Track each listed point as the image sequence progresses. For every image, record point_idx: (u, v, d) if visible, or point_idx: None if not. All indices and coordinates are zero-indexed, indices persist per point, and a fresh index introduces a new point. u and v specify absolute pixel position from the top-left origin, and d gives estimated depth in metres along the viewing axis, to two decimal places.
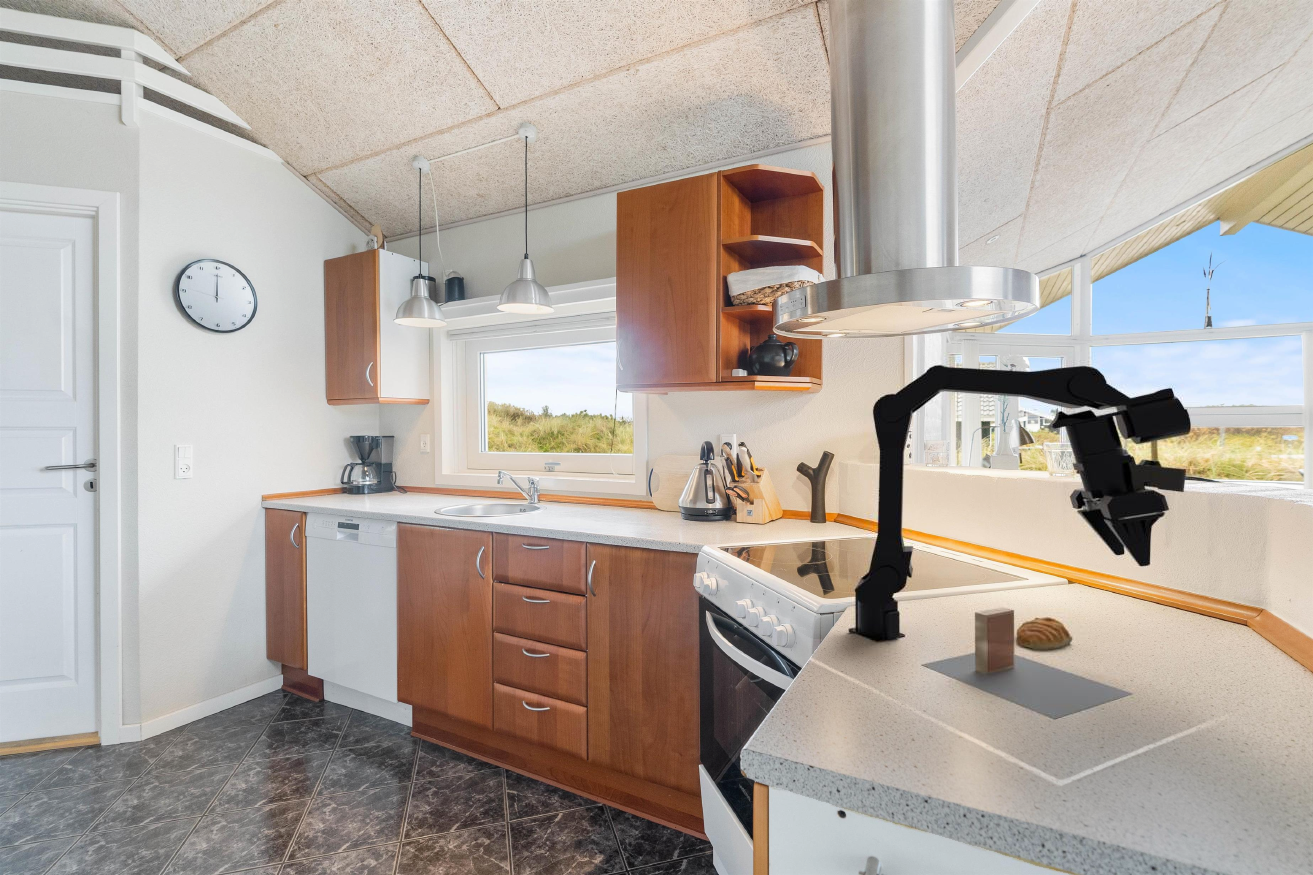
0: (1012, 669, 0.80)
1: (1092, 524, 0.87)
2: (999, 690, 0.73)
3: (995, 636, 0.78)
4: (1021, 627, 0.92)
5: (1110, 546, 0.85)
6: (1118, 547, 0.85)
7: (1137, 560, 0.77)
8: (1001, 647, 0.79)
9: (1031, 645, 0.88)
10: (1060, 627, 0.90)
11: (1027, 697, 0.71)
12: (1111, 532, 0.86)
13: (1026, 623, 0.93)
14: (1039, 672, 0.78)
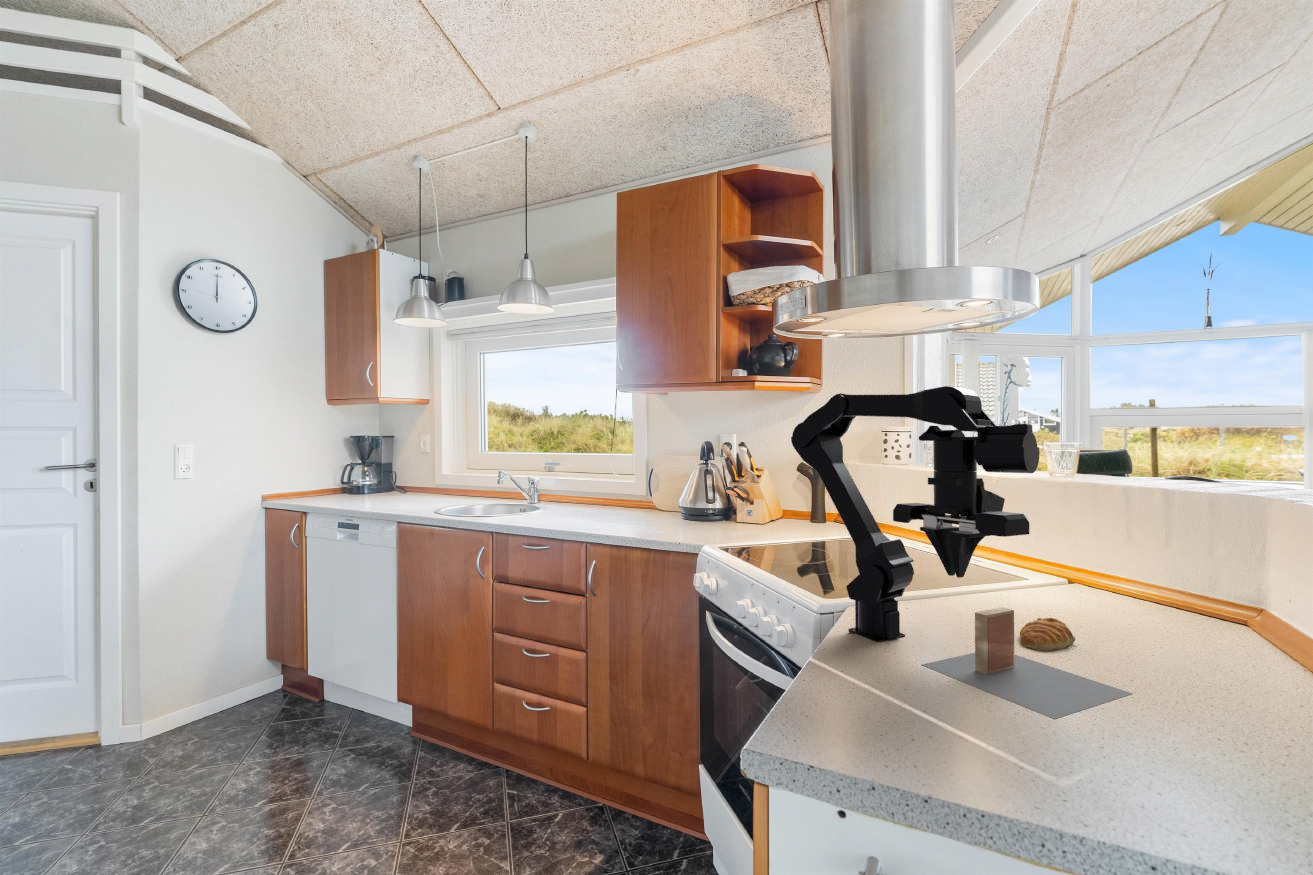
0: (1012, 669, 0.80)
1: (939, 543, 0.85)
2: (999, 690, 0.73)
3: (995, 636, 0.78)
4: (1024, 628, 0.92)
5: (948, 566, 0.85)
6: (953, 568, 0.86)
7: (959, 572, 0.84)
8: (1001, 647, 0.79)
9: (1035, 646, 0.88)
10: (1063, 627, 0.90)
11: (1027, 697, 0.71)
12: (950, 552, 0.86)
13: (1029, 624, 0.92)
14: (1039, 672, 0.78)
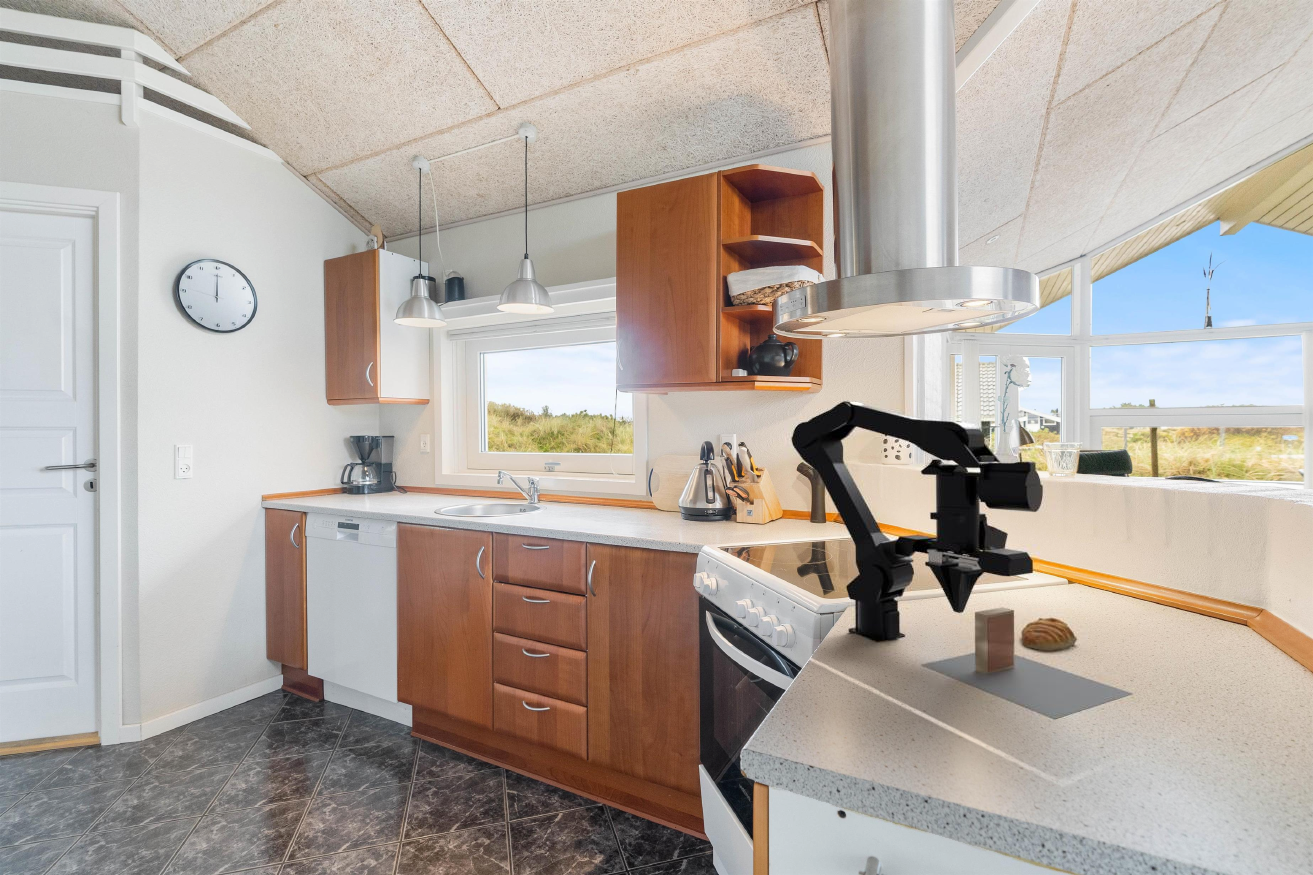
0: (1012, 669, 0.80)
1: (945, 579, 0.84)
2: (999, 690, 0.73)
3: (995, 636, 0.78)
4: (1026, 628, 0.92)
5: (954, 602, 0.85)
6: None
7: (959, 607, 0.84)
8: (1001, 647, 0.79)
9: (1038, 646, 0.87)
10: (1065, 627, 0.90)
11: (1027, 697, 0.71)
12: None
13: (1031, 624, 0.92)
14: (1039, 672, 0.78)
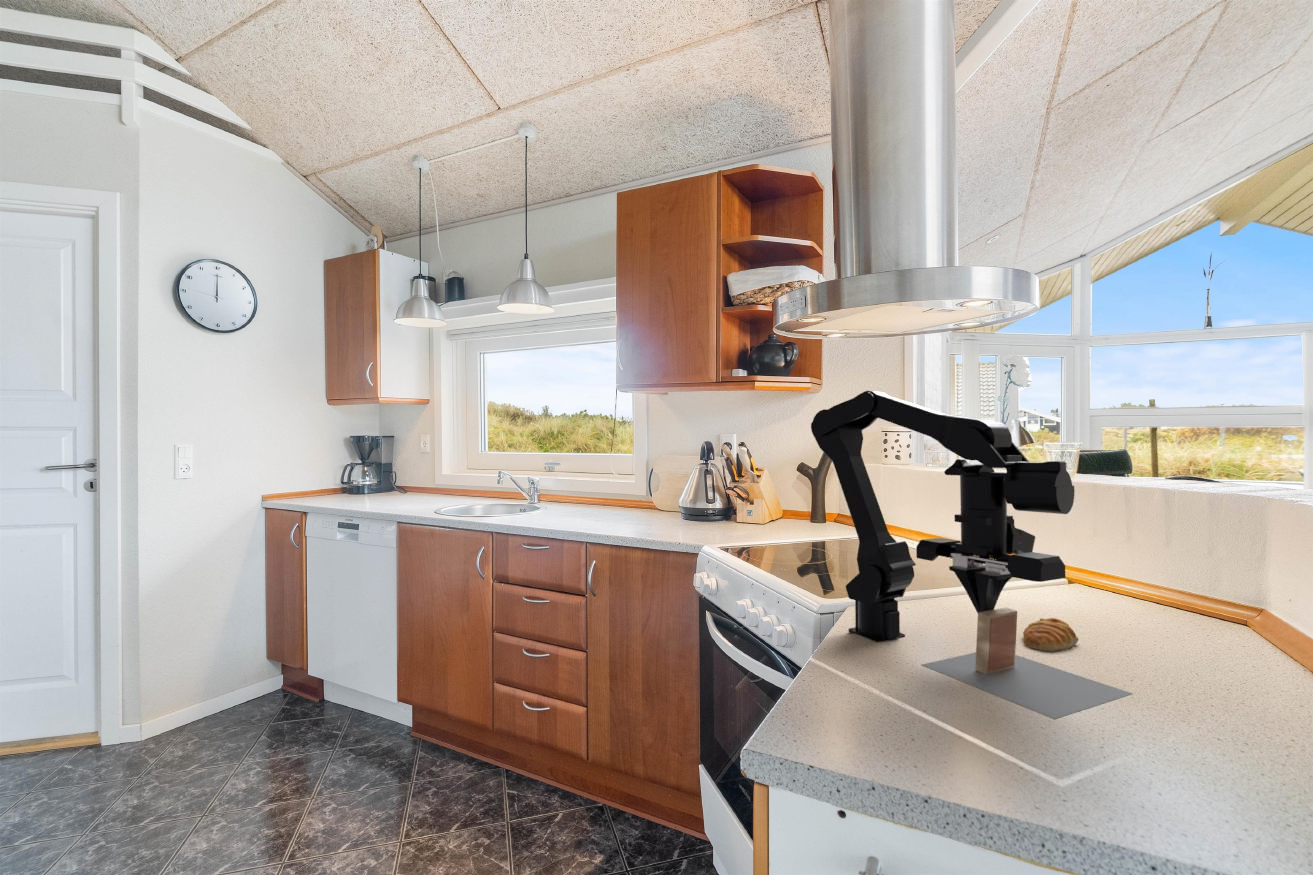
0: (1012, 669, 0.80)
1: (971, 584, 0.81)
2: (999, 690, 0.73)
3: (997, 637, 0.78)
4: (1028, 628, 0.92)
5: (980, 609, 0.81)
6: None
7: None
8: (1003, 648, 0.79)
9: (1040, 647, 0.87)
10: (1067, 628, 0.90)
11: (1027, 697, 0.71)
12: None
13: (1032, 624, 0.92)
14: (1039, 672, 0.78)
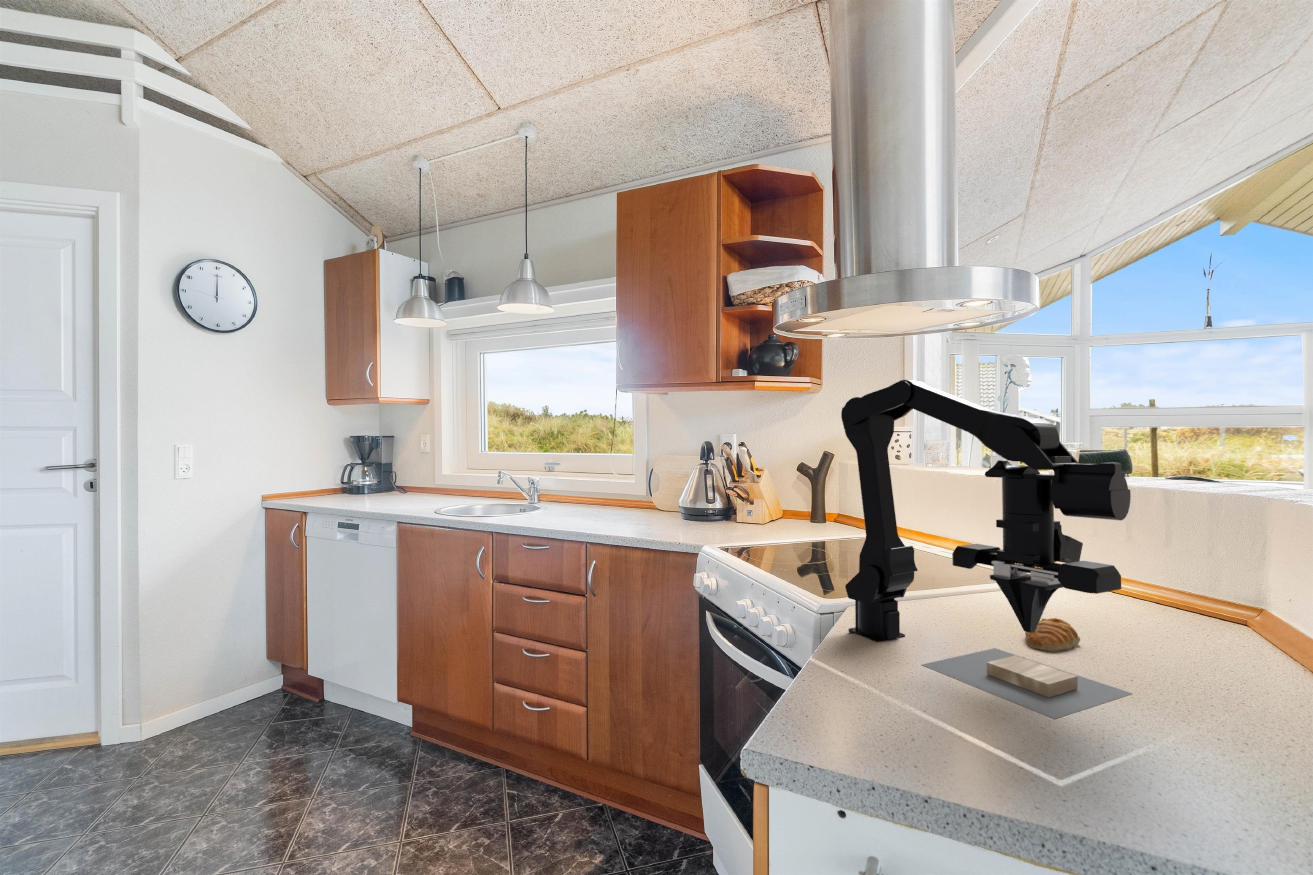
0: None
1: (1014, 594, 0.75)
2: (999, 690, 0.73)
3: None
4: None
5: (1024, 621, 0.75)
6: None
7: (1030, 626, 0.75)
8: None
9: (1043, 647, 0.87)
10: (1069, 628, 0.90)
11: (1027, 697, 0.71)
12: None
13: None
14: None
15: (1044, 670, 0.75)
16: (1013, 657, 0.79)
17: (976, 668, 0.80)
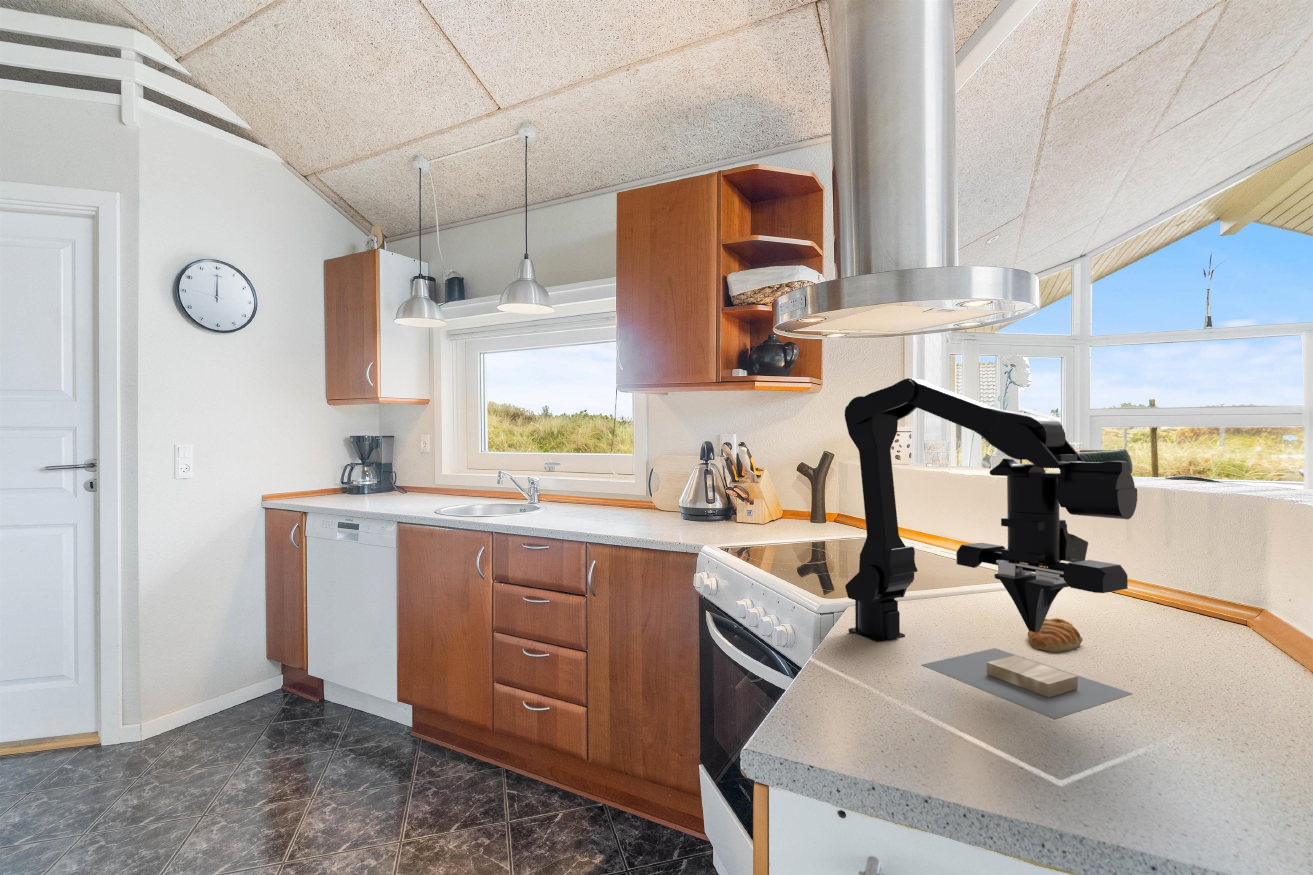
0: None
1: (1019, 594, 0.75)
2: (999, 690, 0.73)
3: None
4: None
5: (1029, 621, 0.75)
6: None
7: (1035, 626, 0.74)
8: None
9: (1046, 648, 0.87)
10: (1071, 628, 0.90)
11: (1027, 697, 0.71)
12: None
13: None
14: None
15: (1044, 670, 0.75)
16: (1013, 657, 0.79)
17: (976, 668, 0.80)
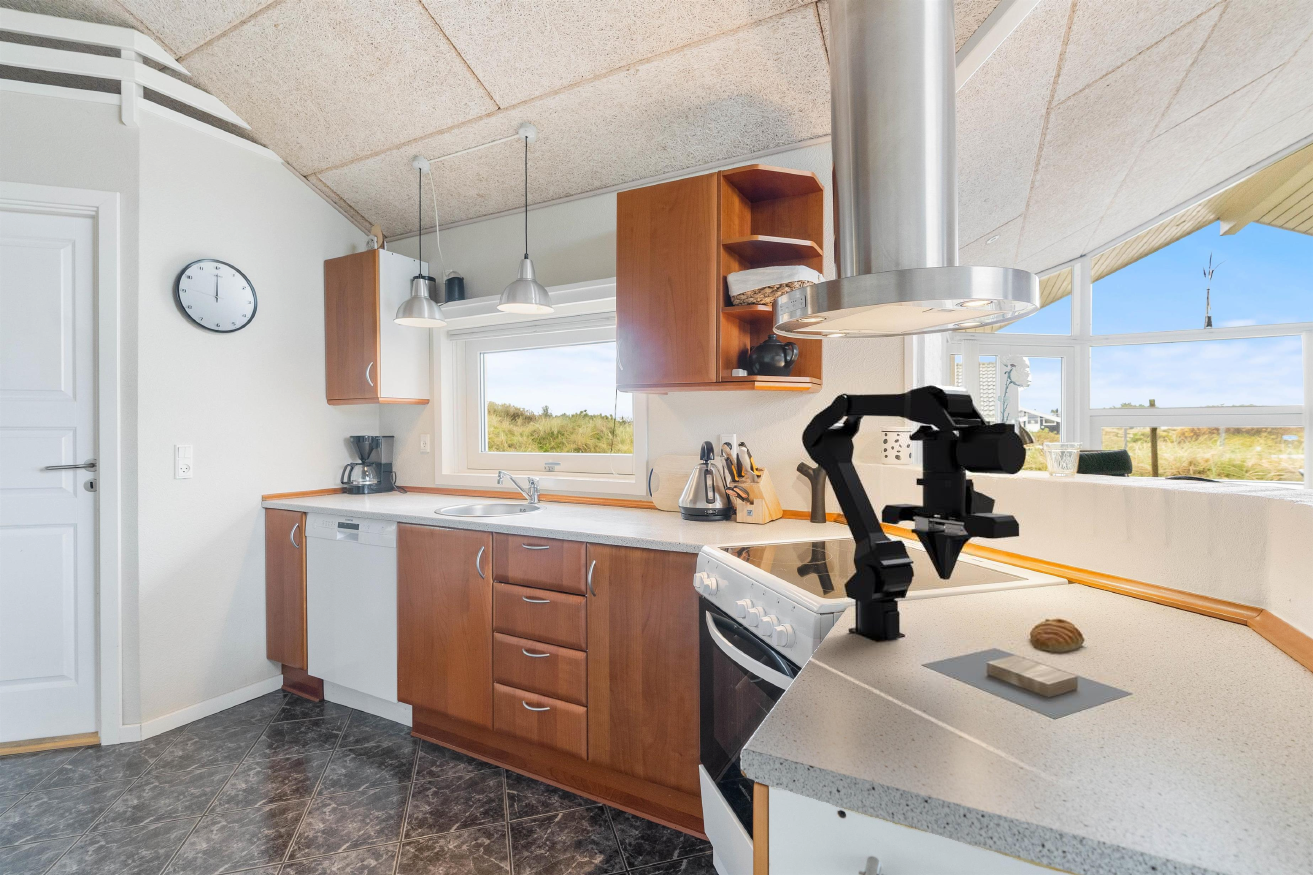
0: None
1: (931, 545, 0.83)
2: (999, 690, 0.73)
3: None
4: (1035, 629, 0.91)
5: (940, 569, 0.83)
6: None
7: (945, 574, 0.83)
8: None
9: (1050, 648, 0.87)
10: (1074, 628, 0.90)
11: (1027, 697, 0.71)
12: None
13: (1039, 625, 0.92)
14: None
15: (1044, 670, 0.75)
16: (1013, 657, 0.79)
17: (976, 668, 0.80)
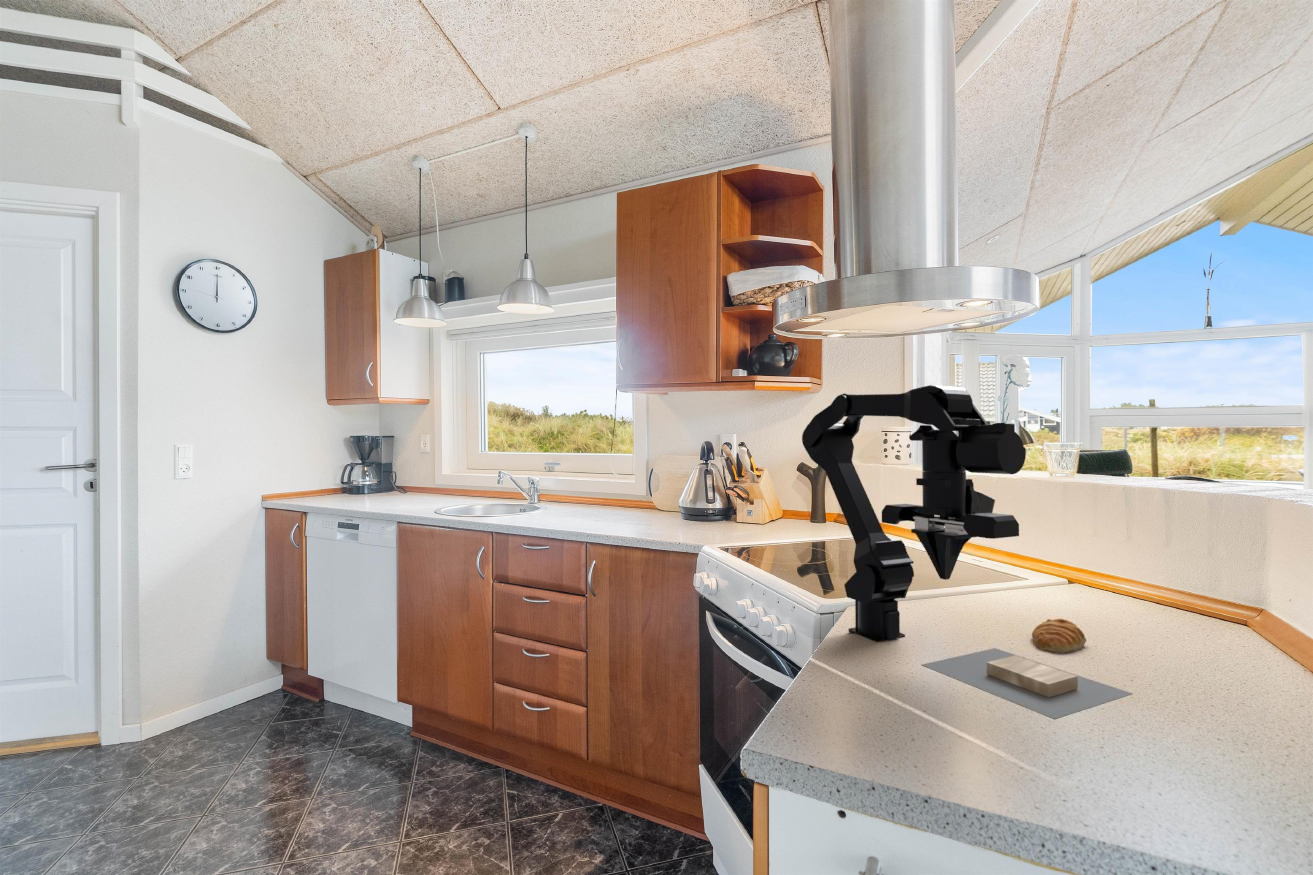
0: None
1: (931, 545, 0.83)
2: (999, 690, 0.73)
3: None
4: (1037, 630, 0.91)
5: (940, 569, 0.83)
6: None
7: (945, 574, 0.83)
8: None
9: (1052, 649, 0.86)
10: (1076, 629, 0.90)
11: (1027, 697, 0.71)
12: None
13: (1041, 625, 0.91)
14: None
15: (1044, 670, 0.75)
16: (1013, 657, 0.79)
17: (976, 668, 0.80)
